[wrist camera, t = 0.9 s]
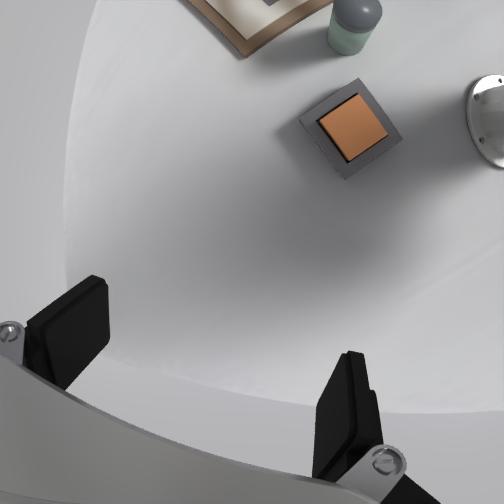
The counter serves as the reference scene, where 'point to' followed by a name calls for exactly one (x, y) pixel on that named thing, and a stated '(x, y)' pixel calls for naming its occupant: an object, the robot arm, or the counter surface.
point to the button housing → (326, 143)
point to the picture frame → (256, 19)
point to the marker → (352, 24)
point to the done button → (353, 127)
